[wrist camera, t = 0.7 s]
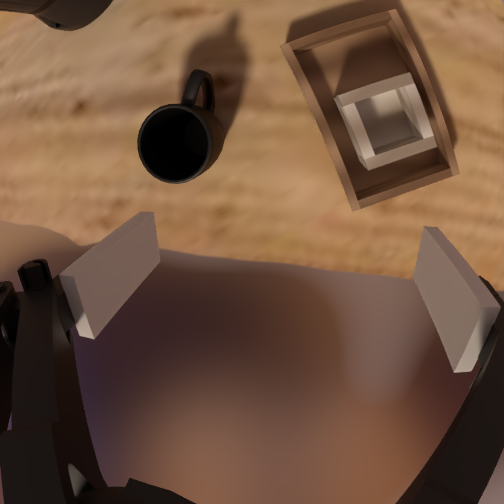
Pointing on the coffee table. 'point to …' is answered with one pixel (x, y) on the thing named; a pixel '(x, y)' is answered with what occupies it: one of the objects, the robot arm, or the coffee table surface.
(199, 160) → the mug
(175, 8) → the coffee table surface
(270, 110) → the coffee table surface
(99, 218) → the coffee table surface
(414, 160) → the box
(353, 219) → the coffee table surface
